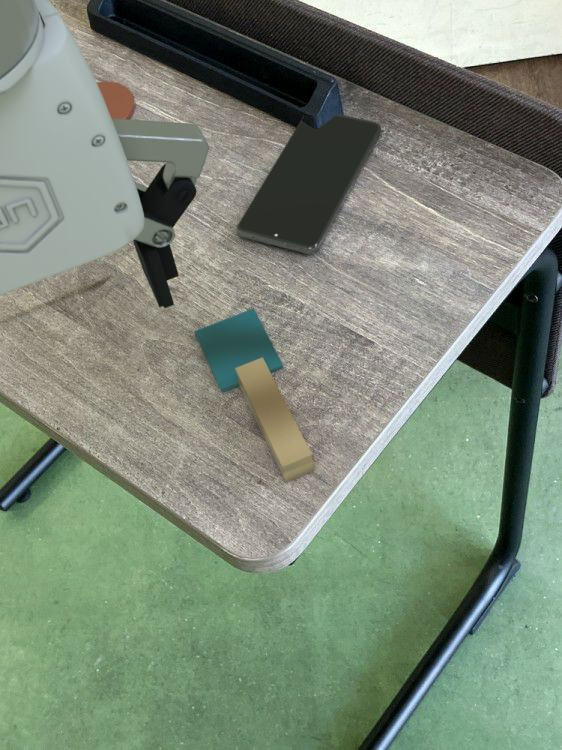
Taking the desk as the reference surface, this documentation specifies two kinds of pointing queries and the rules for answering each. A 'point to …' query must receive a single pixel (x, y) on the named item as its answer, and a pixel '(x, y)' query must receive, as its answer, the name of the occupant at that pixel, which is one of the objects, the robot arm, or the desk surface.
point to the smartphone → (309, 183)
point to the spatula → (256, 385)
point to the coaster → (117, 99)
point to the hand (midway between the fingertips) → (65, 322)
